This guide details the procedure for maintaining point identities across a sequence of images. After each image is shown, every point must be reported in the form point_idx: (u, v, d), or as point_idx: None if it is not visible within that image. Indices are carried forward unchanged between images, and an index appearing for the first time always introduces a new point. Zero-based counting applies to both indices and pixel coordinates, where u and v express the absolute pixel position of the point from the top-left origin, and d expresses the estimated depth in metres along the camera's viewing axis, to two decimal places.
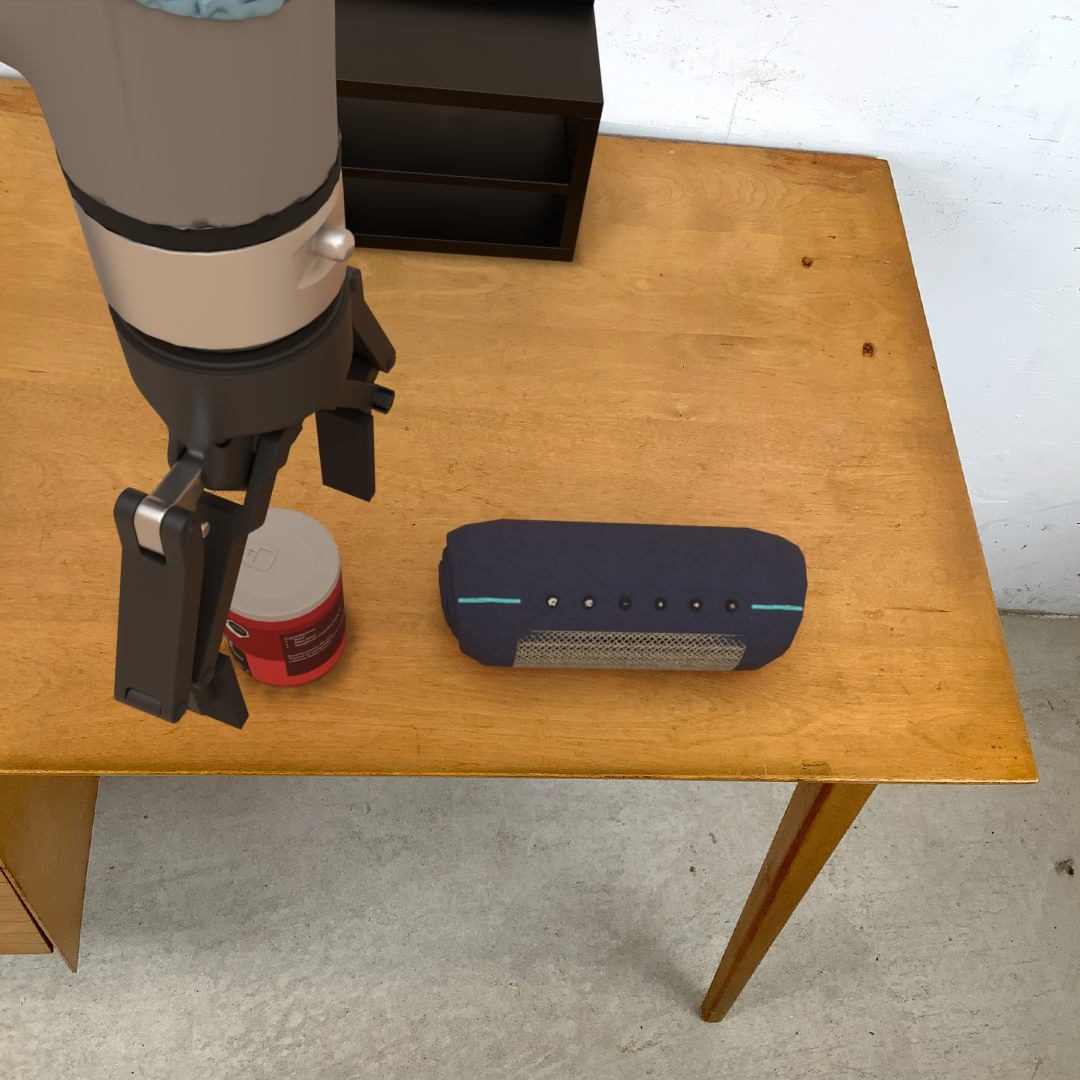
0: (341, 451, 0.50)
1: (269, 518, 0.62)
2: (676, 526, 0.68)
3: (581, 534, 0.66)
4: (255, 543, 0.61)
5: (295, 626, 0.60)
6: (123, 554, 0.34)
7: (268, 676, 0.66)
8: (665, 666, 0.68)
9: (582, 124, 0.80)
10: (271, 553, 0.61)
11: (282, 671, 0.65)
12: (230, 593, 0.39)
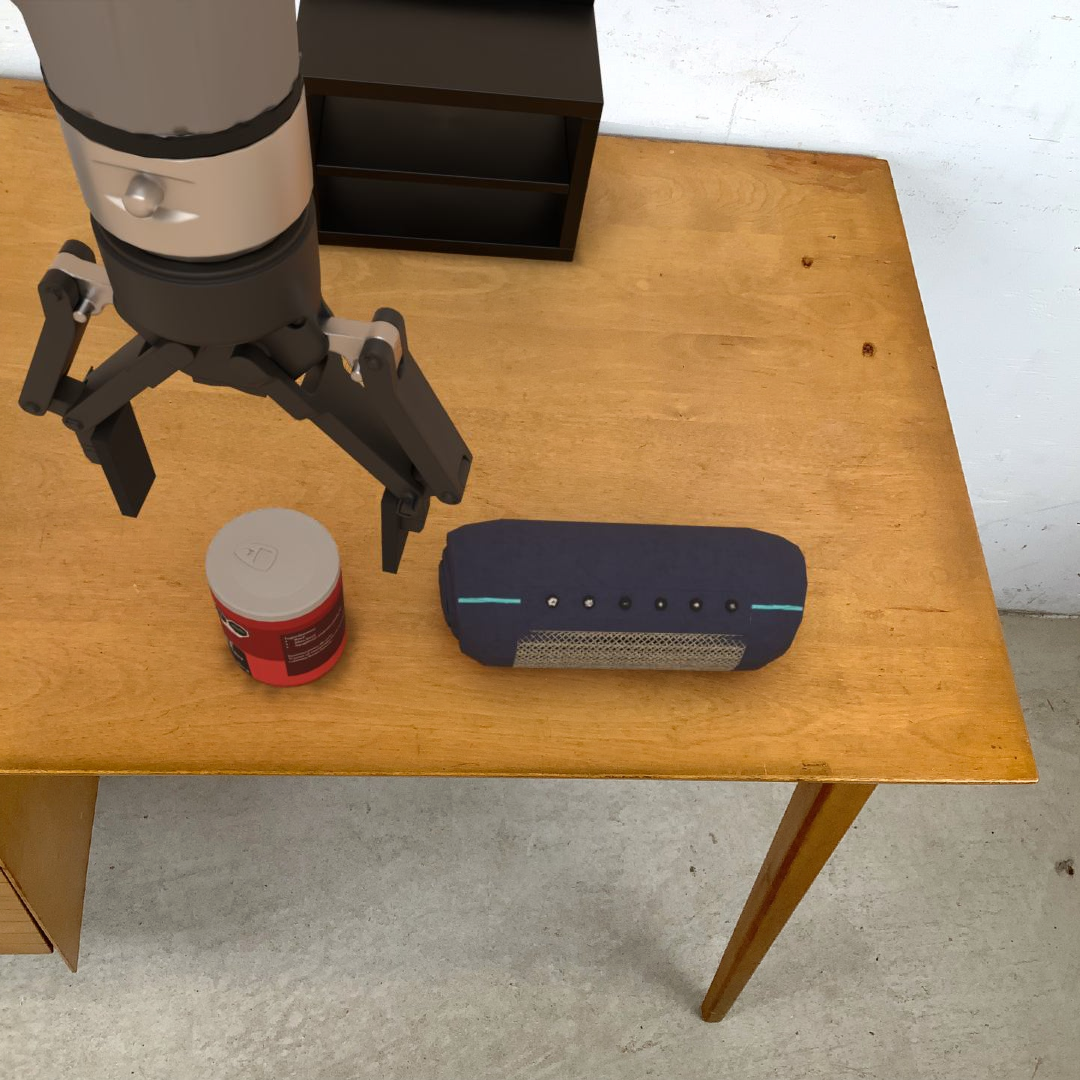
0: None
1: (269, 518, 0.62)
2: (676, 526, 0.68)
3: (581, 534, 0.66)
4: (255, 543, 0.61)
5: (295, 626, 0.60)
6: None
7: (268, 676, 0.66)
8: (665, 666, 0.68)
9: (582, 124, 0.80)
10: (271, 553, 0.61)
11: (282, 671, 0.65)
12: (116, 400, 0.44)
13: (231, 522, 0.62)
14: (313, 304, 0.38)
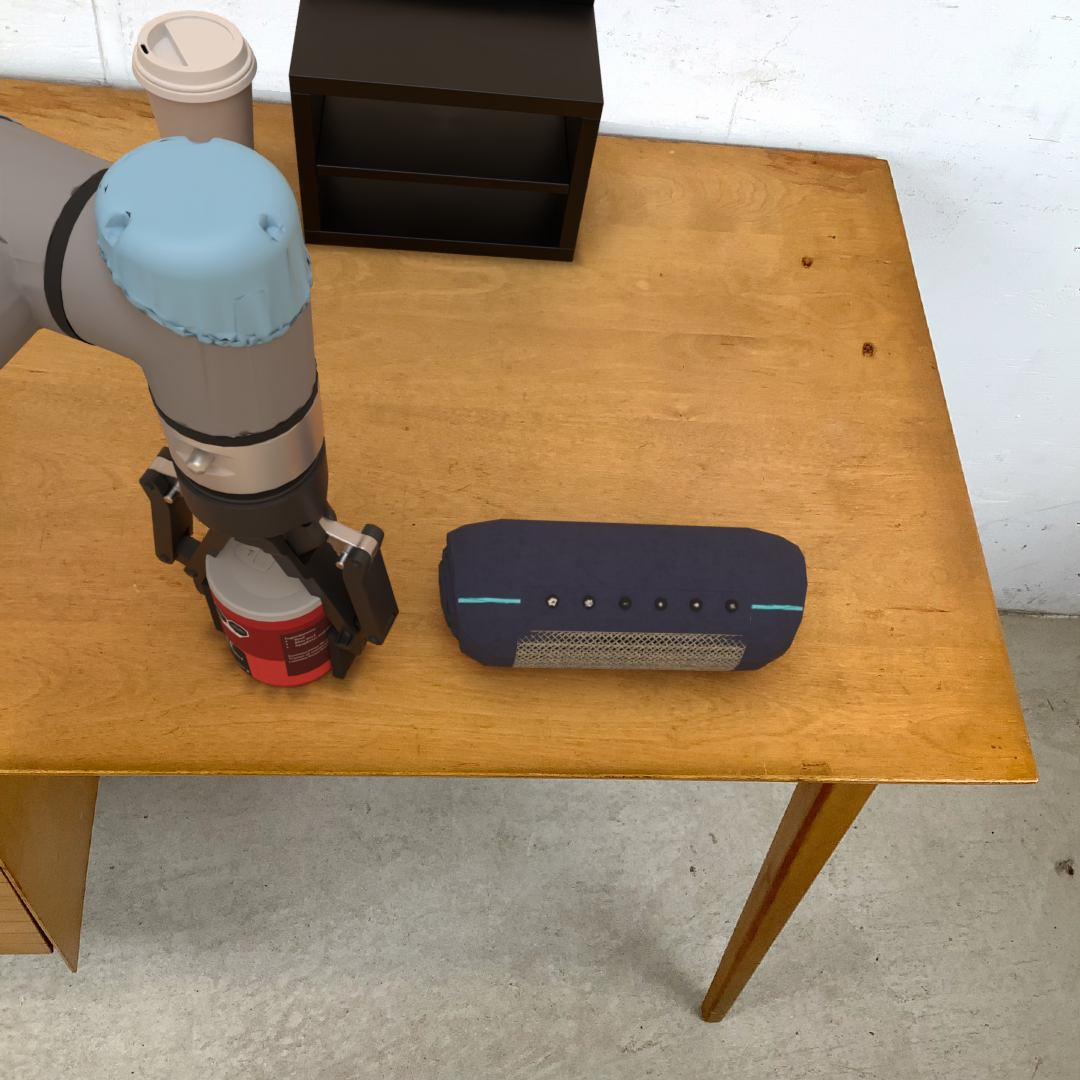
0: None
1: None
2: (676, 526, 0.68)
3: (581, 534, 0.66)
4: None
5: (295, 626, 0.60)
6: None
7: (268, 676, 0.66)
8: (665, 666, 0.68)
9: (582, 124, 0.80)
10: None
11: (283, 671, 0.65)
12: None
13: None
14: (318, 512, 0.53)
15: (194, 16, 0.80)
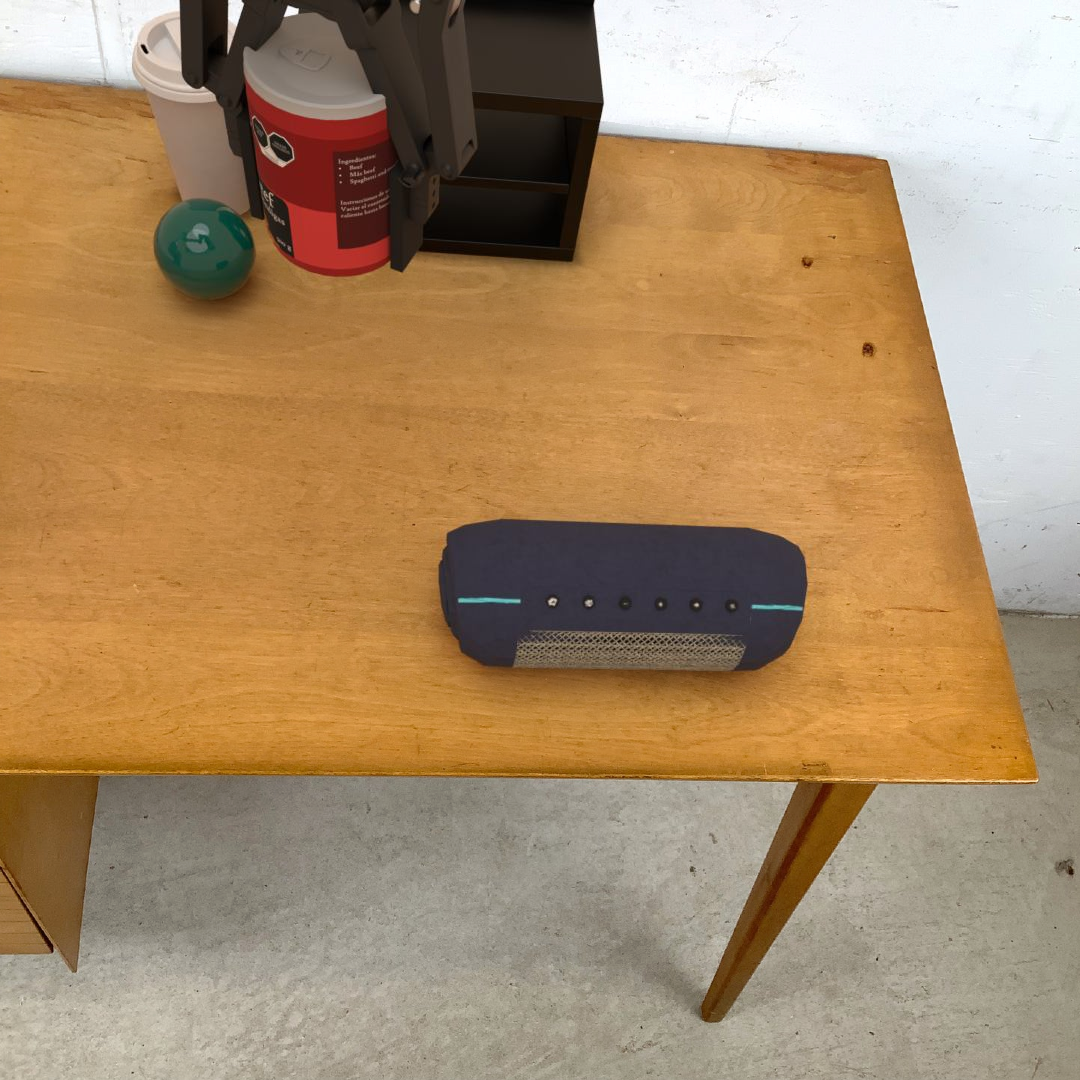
0: None
1: (321, 23, 0.51)
2: (676, 526, 0.68)
3: (581, 534, 0.66)
4: (304, 45, 0.50)
5: (353, 138, 0.49)
6: None
7: (314, 248, 0.54)
8: (665, 666, 0.68)
9: (582, 124, 0.80)
10: (324, 55, 0.50)
11: (332, 237, 0.54)
12: None
13: None
14: None
15: None
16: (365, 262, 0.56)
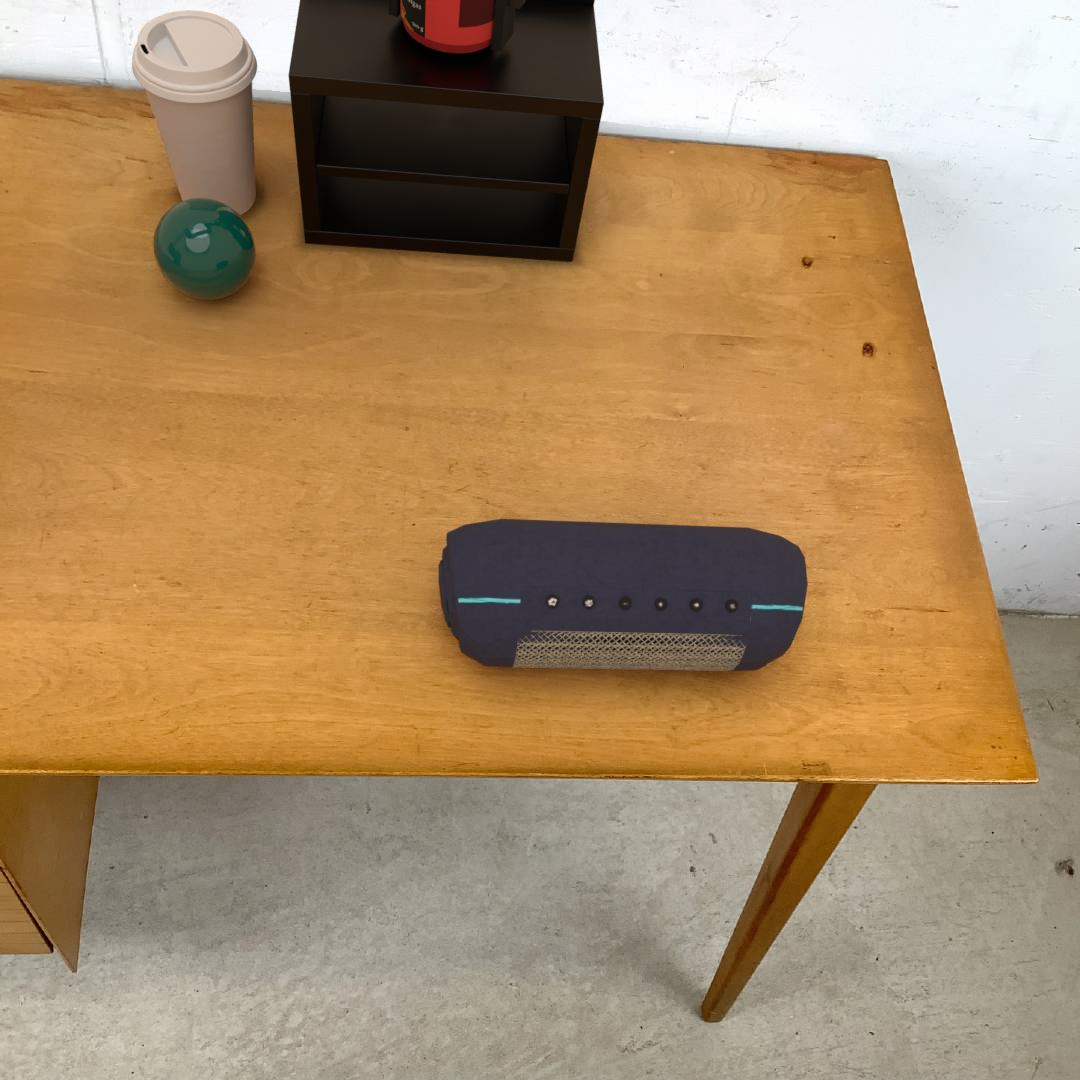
0: None
1: None
2: (676, 526, 0.68)
3: (581, 534, 0.66)
4: None
5: None
6: None
7: (441, 27, 0.76)
8: (665, 666, 0.68)
9: (582, 124, 0.80)
10: None
11: (455, 17, 0.76)
12: None
13: None
14: None
15: (194, 16, 0.80)
16: (475, 40, 0.78)
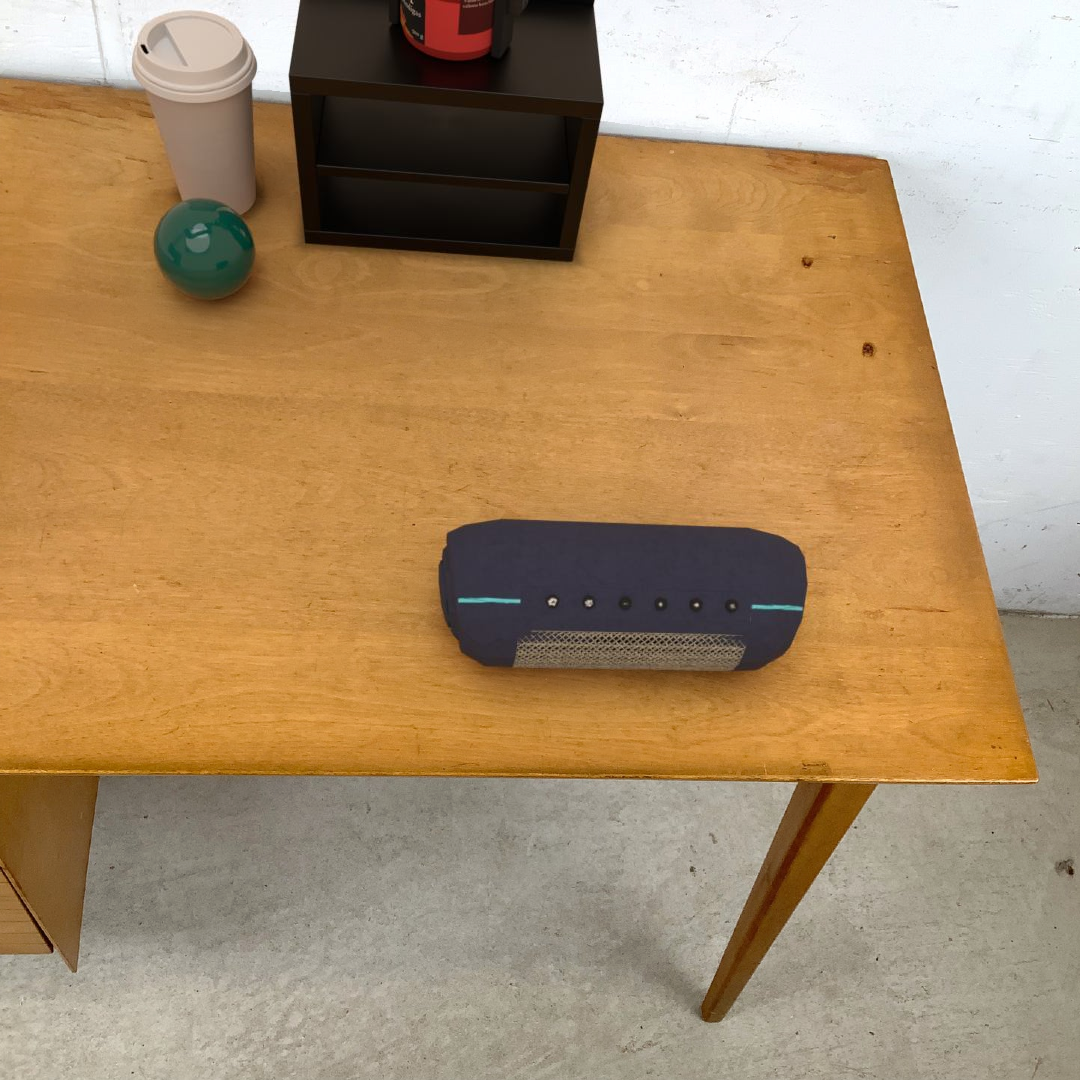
0: None
1: None
2: (676, 526, 0.68)
3: (581, 534, 0.66)
4: None
5: None
6: None
7: (441, 34, 0.77)
8: (665, 666, 0.68)
9: (582, 124, 0.80)
10: None
11: (455, 24, 0.76)
12: None
13: None
14: None
15: (194, 16, 0.80)
16: (475, 48, 0.78)
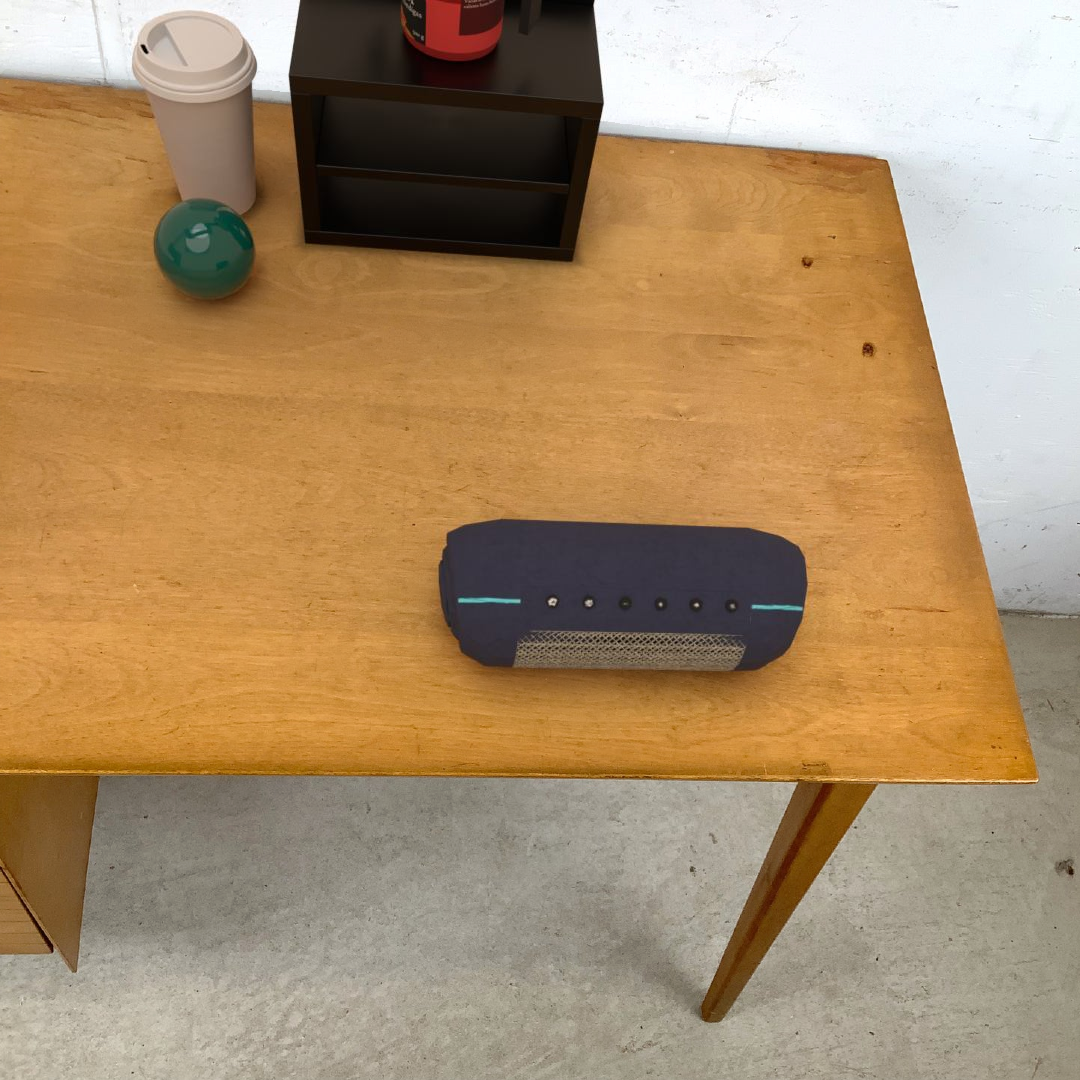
0: None
1: None
2: (676, 526, 0.68)
3: (581, 534, 0.66)
4: None
5: None
6: None
7: (442, 35, 0.77)
8: (665, 666, 0.68)
9: (582, 124, 0.80)
10: None
11: (456, 25, 0.76)
12: None
13: None
14: None
15: (194, 16, 0.80)
16: (476, 48, 0.78)
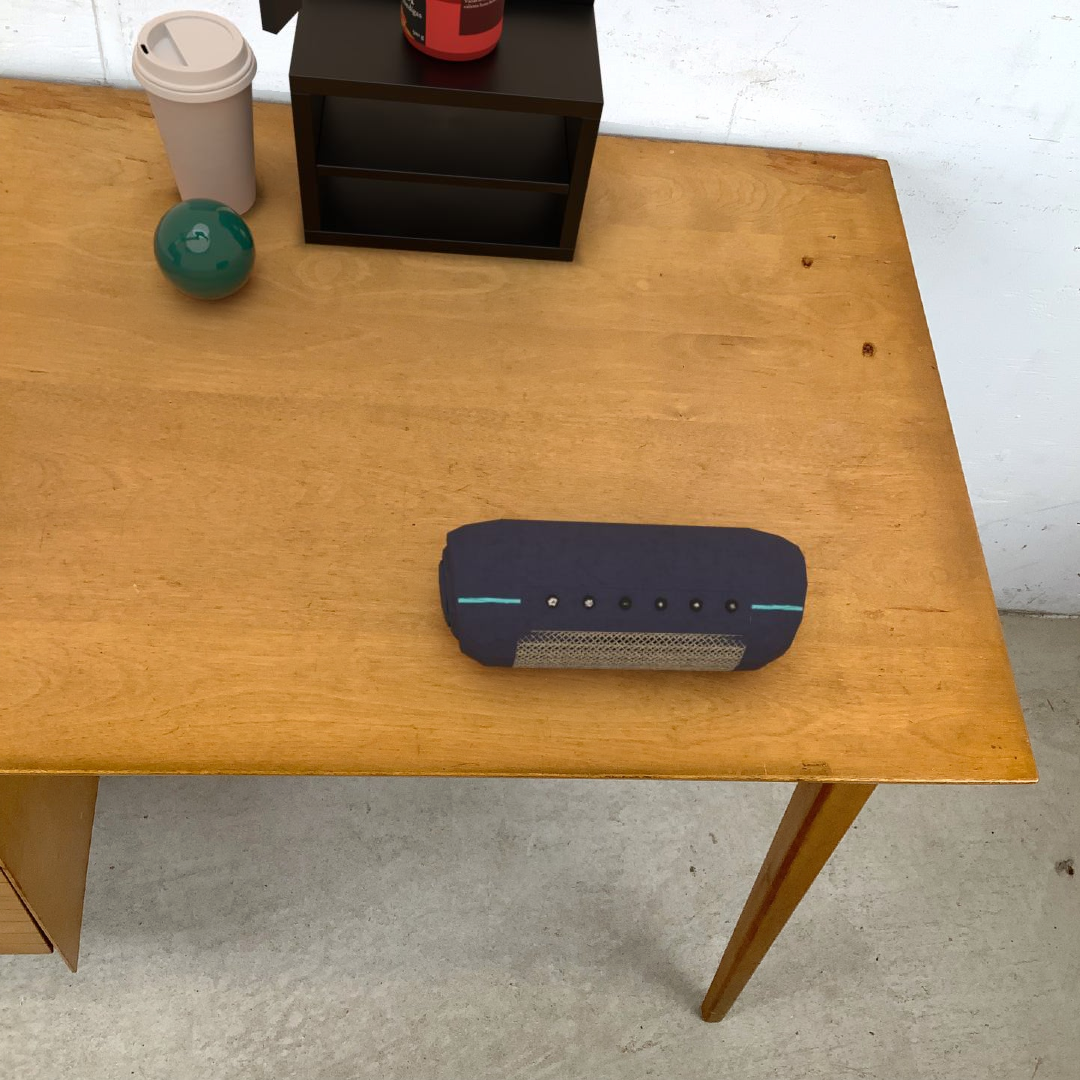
0: None
1: None
2: (676, 526, 0.68)
3: (581, 534, 0.66)
4: None
5: None
6: None
7: (442, 35, 0.77)
8: (665, 666, 0.68)
9: (582, 124, 0.80)
10: None
11: (456, 25, 0.76)
12: None
13: None
14: None
15: (194, 16, 0.80)
16: (476, 48, 0.78)
